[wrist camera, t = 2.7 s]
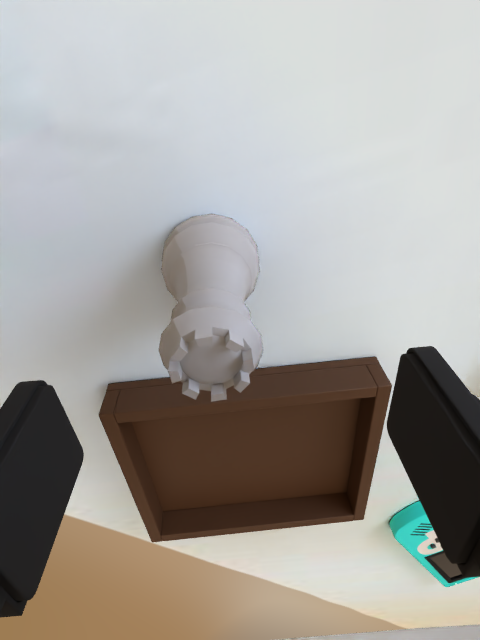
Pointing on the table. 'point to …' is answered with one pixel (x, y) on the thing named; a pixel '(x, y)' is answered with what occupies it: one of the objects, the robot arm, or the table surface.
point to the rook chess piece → (210, 306)
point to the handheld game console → (424, 544)
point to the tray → (250, 448)
